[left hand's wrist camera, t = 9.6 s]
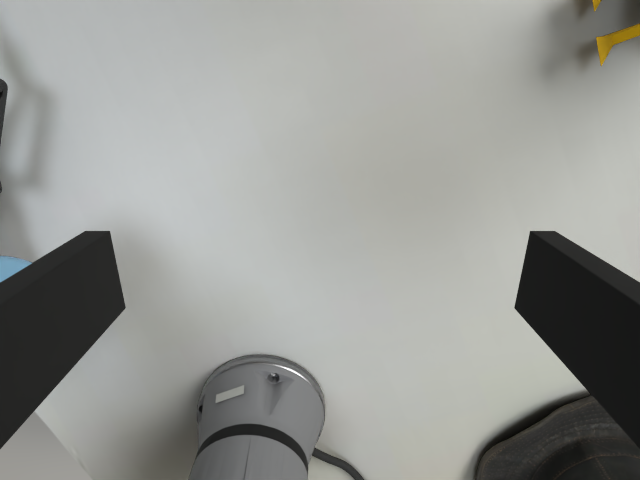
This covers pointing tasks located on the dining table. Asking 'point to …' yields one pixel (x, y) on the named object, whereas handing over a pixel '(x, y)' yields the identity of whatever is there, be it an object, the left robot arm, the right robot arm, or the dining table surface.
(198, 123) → the dining table surface
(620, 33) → the toy
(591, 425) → the hat
